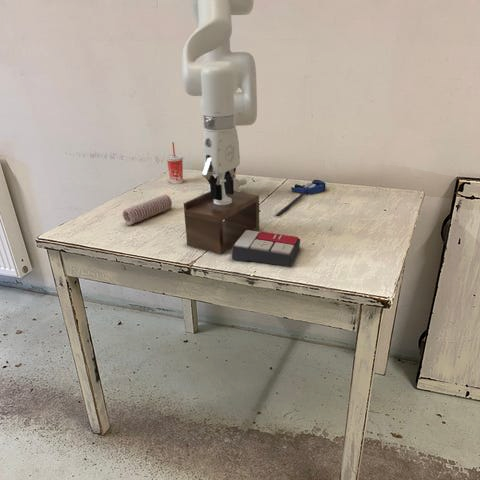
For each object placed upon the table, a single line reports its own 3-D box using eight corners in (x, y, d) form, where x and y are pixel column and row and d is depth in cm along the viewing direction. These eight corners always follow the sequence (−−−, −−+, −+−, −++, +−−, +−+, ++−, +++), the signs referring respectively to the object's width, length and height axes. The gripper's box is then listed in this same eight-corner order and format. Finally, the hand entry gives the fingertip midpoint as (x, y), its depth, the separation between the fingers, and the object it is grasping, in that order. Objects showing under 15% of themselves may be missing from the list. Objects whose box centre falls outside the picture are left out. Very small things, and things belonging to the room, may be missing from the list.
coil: (130, 213, 139) (174, 196, 151) (119, 208, 141) (163, 192, 153) (131, 227, 141) (174, 210, 153) (120, 223, 143) (163, 205, 155)
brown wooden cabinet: (227, 222, 142) (226, 183, 136) (259, 229, 137) (259, 189, 131) (187, 245, 129) (183, 203, 123) (220, 254, 124) (218, 210, 118)
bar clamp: (301, 177, 171) (328, 180, 166) (301, 183, 172) (328, 187, 168) (260, 208, 148) (290, 213, 144) (260, 216, 149) (290, 221, 145)
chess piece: (234, 199, 129) (233, 161, 124) (228, 205, 125) (226, 166, 120) (217, 198, 130) (215, 160, 125) (210, 204, 127) (208, 165, 121)
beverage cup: (184, 184, 176) (180, 144, 168) (167, 184, 176) (163, 144, 168) (185, 179, 181) (182, 140, 173) (169, 179, 181) (165, 140, 173)
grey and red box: (291, 253, 115) (231, 243, 118) (290, 269, 117) (231, 259, 121) (301, 235, 123) (244, 227, 127) (299, 251, 126) (244, 242, 129)
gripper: (210, 130, 109) (215, 208, 119) (251, 118, 121) (251, 189, 131) (185, 127, 113) (191, 203, 123) (226, 115, 125) (229, 185, 135)
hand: (222, 195), depth 127 cm, fingers open, 4 cm apart
